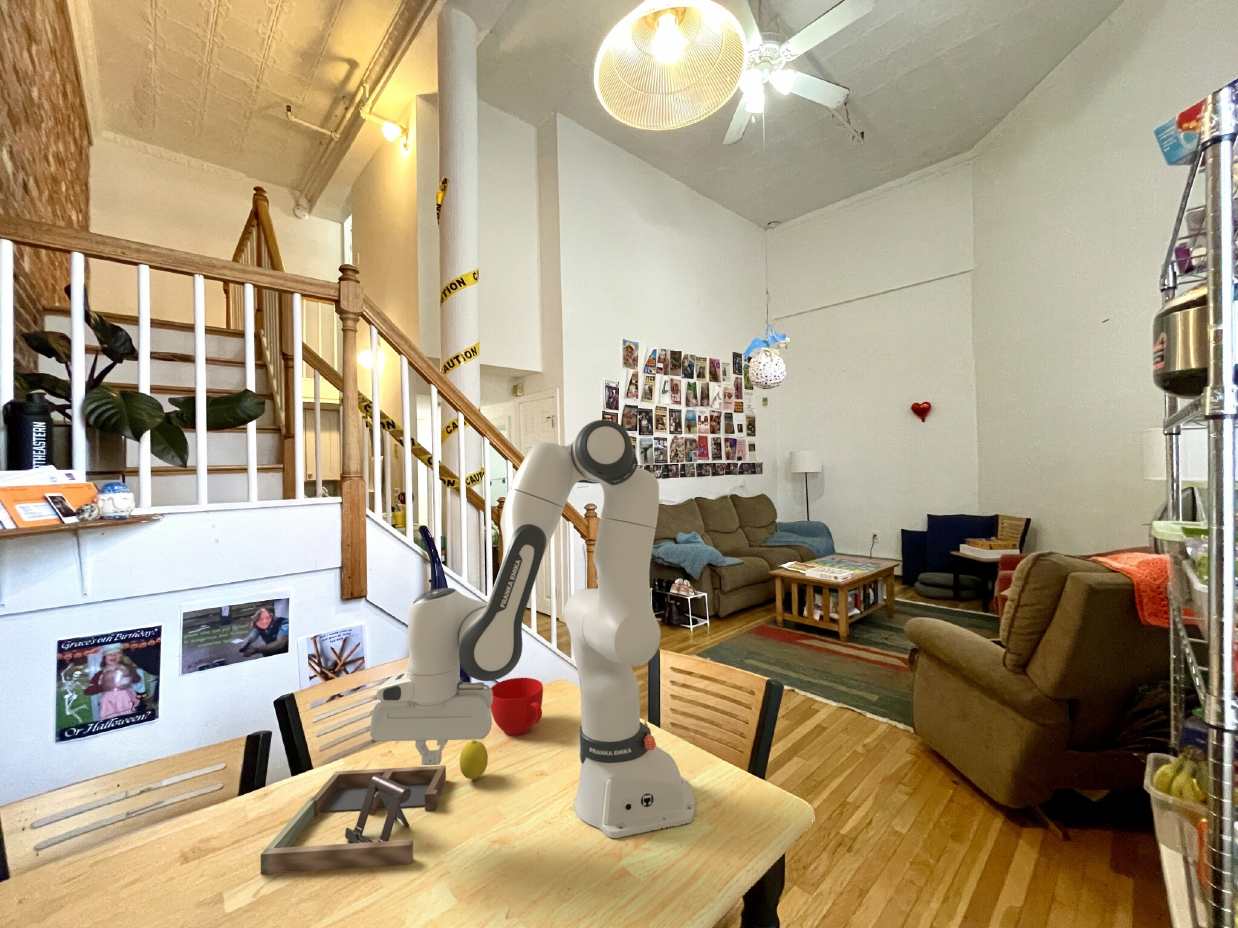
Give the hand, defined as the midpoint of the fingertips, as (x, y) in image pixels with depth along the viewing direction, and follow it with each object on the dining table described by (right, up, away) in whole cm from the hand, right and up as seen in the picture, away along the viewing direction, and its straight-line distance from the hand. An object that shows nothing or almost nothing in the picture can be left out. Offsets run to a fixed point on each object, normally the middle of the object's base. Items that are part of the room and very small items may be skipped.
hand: (431, 763), depth 89 cm
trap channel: (-13, -12, +3) cm, 18 cm away
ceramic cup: (+9, -13, +34) cm, 38 cm away
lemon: (+3, -13, +15) cm, 20 cm away
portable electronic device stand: (-8, -13, -1) cm, 15 cm away
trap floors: (-13, -13, +10) cm, 21 cm away
